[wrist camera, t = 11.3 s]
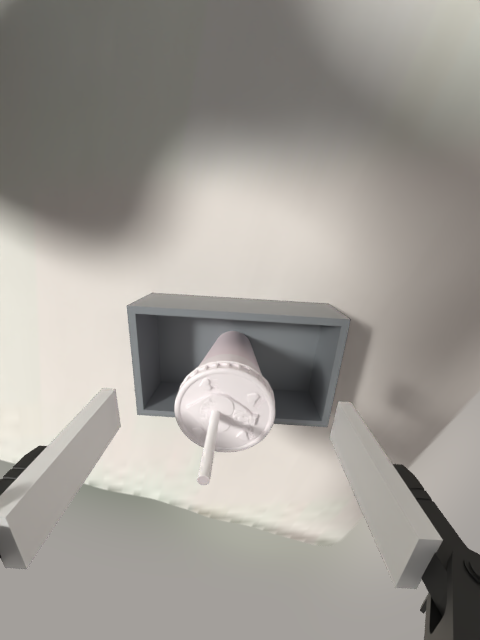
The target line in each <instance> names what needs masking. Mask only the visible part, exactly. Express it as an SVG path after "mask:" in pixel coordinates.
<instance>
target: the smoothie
mask: <svg viewBox="0 0 480 640" xmlns="http://www.w3.org/2000/svg"><path fill="white" fill-rule="evenodd" d="M174 411H175V417H176V421H177V423H178V425H179V427H180V429H181V430H182V432H183V433H184V434H185V435H186V436H187V437H188V438H189V439H190V440H191V441H193V442H194V443H196V444H197V445H199V446H201V447H203V448H204V449H203V454H202V459H201V464H200V468H199V473H198V478H197V482H198V483H199V484H201V485H207V484H209V482H210V476H211V470H212V463H213V457H214V451H217V452H236V451H241V450H245V449H248V448H250V447H252V446H254V445H256V444H257V443H259V442H260V441H261V440H262V439H264V438H265V437H266V435H267V434H268V433H269V431H270V430H271V428H272V426H273V423H274V420H275V399H274V393H273V390H272V388H271V386H270V385H269V383H268V381H267V380H266V379H265V378H264V377H263V376H262V374H261V371H260V368H259V366H258V363H257V360H256V357H255V355H254V352H253V349H252V346H251V344H250V341H249V339H248V338H247V337H246V336H245V335H244V334H242V333H240V332H237V331H228V332H225V333H223V334H221V335H220V336H219V337H218V339H217V340H216V342H215V343H214V344H213V346H212V347H211V349H210V350H209V352H208V353H207V355H206V356H205V358H204V359H203V361H202V362H201V363H200V365H199V366H198V367H197V368H196V369H194V370H193V371H192V372H191V373H190V374H188V375H187V376H186V378H185V379H184V381H183V382H182V384H181V385H180V389H179V392H178V394H177V397H176V400H175V406H174Z"/></svg>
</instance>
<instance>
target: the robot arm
mask: <svg viewBox="0 0 480 640" xmlns="http://www.w3.org/2000/svg"><path fill="white" fill-rule="evenodd" d="M120 427H121V424H120V417H119V410H118V403H117V396H116V389H106V388H102V389H101V390H100V391H99V392H98V393H97V394H96V396H95V397H94V398H93V399H92V400H91V401H90V402H89V403H88V404H87V405H86V406H85V407H84V408H83V409H82V410H81V411H80V412H79V413H78V414H77V416H76V417H75V418H74V419H73V420H72V421H71V422H70V423H69V424H68V425H67V426H66V427H65V428H64V429H63V430H62V431H61V432H60V433H59V434H58V436H57V437H56V438H55V439H54V440H53V441H52V442H51V443H50V444H49V445H48V446H38V447H37V448H35V449H34V450H32V451H31V452H29V453H28V454H26V455H25V456H24V457H23V458H22V459H21V460H20V461H19V462H18V463H17V464H16V465H15V466H14V467H13V469H11V470H9V471H8V472H7V473H6V475H4V476H3V479H0V558H1V560H2V562H3V564H4V566H5V568H18V569H27V568H28V566H29V565H30V564H31V562H32V560H33V559H34V557H35V556H36V554H37V553H38V551H39V550H40V548H41V547H42V545H43V544H44V542H45V541H46V539H47V538H48V536H49V535H50V533H51V532H52V530H53V528H54V527H55V525H56V524H57V522H58V521H59V519H60V518H61V516H62V515H63V513H64V512H65V510H66V509H67V507H68V506H69V504H70V503H71V501H72V500H73V498H74V497H75V495H76V494H77V492H78V490H79V489H80V487H81V486H82V484H83V483H84V481H85V480H86V478H87V477H88V475H89V474H90V472H91V471H92V469H93V468H94V466H95V465H96V463H97V462H98V460H99V459H100V457H101V456H102V454H103V453H104V451H105V449H106V448H107V446H108V445H109V443H110V442H111V440H112V439H113V437H114V436H115V434H116V433H117V431H118V430H119V428H120ZM330 440H331V442H332V444H333V447H334V449H335V451H336V453H337V456H338V458H339V460H340V463H341V465H342V467H343V469H344V472H345V474H346V476H347V479H348V481H349V483H350V485H351V488H352V490H353V492H354V495H355V497H356V499H357V501H358V504H359V506H360V508H361V511H362V513H363V515H364V518H365V520H366V522H367V524H368V527H369V529H370V531H371V534H372V536H373V538H374V540H375V543H376V545H377V547H378V549H379V552H380V554H381V556H382V559H383V561H384V563H385V566H386V568H387V570H388V572H389V575H390V577H391V579H392V581H393V584H394V586H395V588H410V589H416V588H417V587H418V585H419V583H420V581H421V579H422V580H423V582H424V584H425V586H426V588H427V590H428V592H429V593H428V595H427V597H426V599H425V600H424V602H423V604H422V606H421V609H420V611H421V612H422V613H424V612H425V611H426V620H425V636H424V640H480V555H479V554H478V553H475V552H474V551H472V550H470V549H468V548H467V547H466V545H465V544H464V543H463V542H462V540H461V539H460V538H459V536H458V535H457V533H456V532H455V530H454V529H453V528H452V526H451V525H450V524H449V522H448V521H447V519H446V518H445V517H444V515H443V514H442V513H441V511H440V510H439V509H438V508H437V506H436V504H435V503H434V502H432V500H431V498H430V496H429V495H428V493H427V492H426V491H424V488H423V487H422V485H421V484H420V482H419V481H418V480H417V478H416V477H415V476H414V475H413V474H412V473H411V472H410V471H409V470H408V469H407V468H406V467H404V466H403V465H398V464H392V463H391V461H390V460H389V458H388V457H387V455H386V454H385V452H384V451H383V449H382V448H381V446H380V445H379V443H378V442H377V440H376V439H375V437H374V436H373V434H372V433H371V431H370V430H369V428H368V427H367V425H366V424H365V422H364V421H363V419H362V418H361V416H360V415H359V413H358V412H357V410H356V409H355V407H354V406H353V404H352V403H351V402H340V401H338V404H337V409H336V413H335V417H334V421H333V425H332V430H331V434H330Z"/></svg>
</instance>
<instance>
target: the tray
mask: <svg viewBox="0 0 480 640" xmlns="http://www.w3.org/2000/svg"><path fill="white" fill-rule="evenodd" d="M127 313H128V324H129V334H130V344H131V354H132V364H133V375H134V385H135V395H136V405H137V415H149V416H164V417H175V411H174V406H175V400H176V397H177V394H178V392H179V389H180V385H181V384H182V382H183V381H184V379H185V378H186V376H187V375H188V374H190V373H191V372H192V371H193V370H194V369H196V368H197V367H198V366H199V365H200V363H201V362H202V361H203V359H204V358H205V356H206V355H207V353H208V352H209V350H210V349H211V347H212V346H213V344H214V343H215V342H216V340H217V339H218V337H219V336H220V335H221V334H223V333H225V332H228V331H237V332H240V333H242V334H244V335H245V336H246V337H247V338H248V339H249V341H250V344H251V346H252V349H253V352H254V355H255V357H256V360H257V363H258V366H259V368H260V371H261V374H262V376H263V377H264V378H265V379H266V380H267V381H268V383H269V385H270V386H271V388H272V390H273V393H274V399H275V420H274V423H273V424H287V425H303V426H318V427H328V422H329V418H330V413H331V409H332V404H333V399H334V395H335V390H336V385H337V381H338V376H339V371H340V367H341V362H342V357H343V353H344V348H345V344H346V339H347V334H348V330H349V325H350V320H351V319H349V318H348V317H346V316H345V315H344V314H342V313H341V312H339V311H338V310H337V309H335V308H334V307H332V306H331V305H330V304H325V303H309V302H292V301H276V300H260V299H243V298H227V297H211V296H194V295H178V294H162V293H151V294H149V295H147V296H145V297H143V298H141V299H139V300H137V301H135V302H133V303H131V304H129V305H127Z"/></svg>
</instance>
